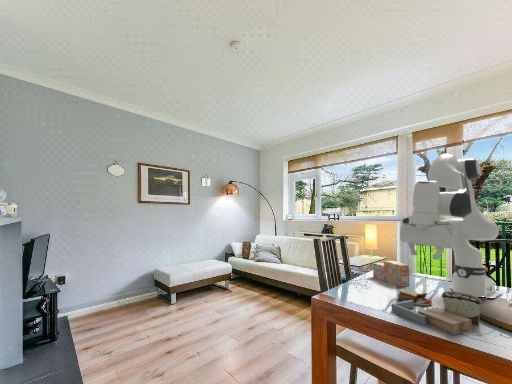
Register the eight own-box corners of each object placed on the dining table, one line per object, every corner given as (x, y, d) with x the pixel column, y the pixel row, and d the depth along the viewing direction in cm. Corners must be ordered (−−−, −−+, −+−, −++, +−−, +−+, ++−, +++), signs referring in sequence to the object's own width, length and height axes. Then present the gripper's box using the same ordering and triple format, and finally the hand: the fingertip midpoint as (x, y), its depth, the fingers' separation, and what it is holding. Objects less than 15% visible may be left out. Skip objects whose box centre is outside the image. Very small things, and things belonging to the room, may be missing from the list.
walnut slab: (437, 317, 99) (436, 307, 99) (472, 330, 87) (471, 319, 88) (418, 321, 95) (418, 311, 95) (453, 336, 83) (452, 324, 84)
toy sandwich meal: (429, 309, 106) (428, 298, 106) (395, 301, 115) (394, 291, 116) (434, 302, 115) (433, 291, 115) (402, 295, 124) (401, 285, 125)
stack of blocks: (372, 277, 157) (372, 258, 158) (380, 276, 159) (379, 257, 160) (401, 287, 137) (400, 265, 138) (410, 286, 139) (409, 264, 140)
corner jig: (411, 306, 108) (411, 299, 109) (445, 320, 95) (445, 312, 95) (391, 310, 104) (391, 303, 104) (424, 325, 91) (424, 317, 91)
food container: (483, 322, 93) (481, 295, 94) (484, 328, 89) (482, 300, 89) (443, 313, 101) (442, 289, 102) (442, 318, 97) (440, 292, 98)
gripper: (460, 222, 84) (459, 263, 83) (409, 221, 104) (408, 253, 103) (446, 221, 83) (445, 261, 81) (397, 219, 103) (396, 252, 101)
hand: (424, 257), depth 92 cm, fingers open, 8 cm apart
